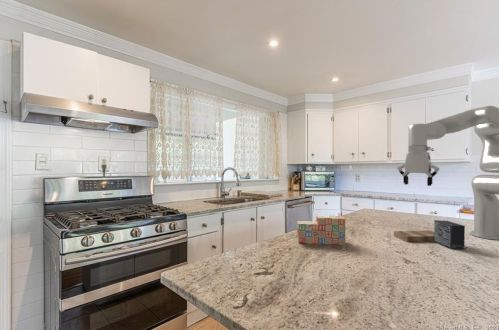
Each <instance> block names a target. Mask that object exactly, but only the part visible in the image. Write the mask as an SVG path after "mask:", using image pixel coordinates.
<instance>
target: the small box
mask: <svg viewBox="0 0 499 330" xmlns="http://www.w3.org/2000/svg"><path fill="white" fill-rule="evenodd" d="M433 222H434V223H433V224H434V227H433V228H434V231H433V232H434V243H436V244H438V245H440V246H443V247H445V248H448V249H450V250H465V246H466V245H465V242H466V241H465V234H466V233H465V230H466V229H465V228H466V227H465V226H466V225H464V224H460V223H456V222H453V221H451V220H450V221H449V220H440V219H439V220H436V219H435V220H434V221H433Z"/></svg>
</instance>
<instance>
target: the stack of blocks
mask: <svg viewBox="0 0 499 330" xmlns="http://www.w3.org/2000/svg"><path fill="white" fill-rule="evenodd" d="M296 223H297V224H296V239H297V243H298V244H306V243H308V244H309V245H310V244H313V245H341V246H343V245H346V218H345V217H344V216H343V215H334V214H333V215H331V214H329V215H320V214H319V215H317V214H316V215H315V221H313V220H312V221H310V220H308V221H306V220H305V221H303V220H302V221H301V220H297V221H296Z"/></svg>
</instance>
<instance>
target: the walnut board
mask: <svg viewBox="0 0 499 330" xmlns="http://www.w3.org/2000/svg"><path fill="white" fill-rule="evenodd" d="M393 237H395V238H397V239H399V240H402V241H403V242H406V243H423V242H424V243H425V242H426V243H427V242H434V231H433V230H395V231H393ZM434 243H435V242H434Z"/></svg>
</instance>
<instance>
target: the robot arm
mask: <svg viewBox="0 0 499 330" xmlns="http://www.w3.org/2000/svg"><path fill="white" fill-rule="evenodd" d="M472 127H473V131H474V133H475V135H477V136H478V137H479V139H480V141H481V142H482V151H481V155H480V160H479V169H480V170H481V171H482V172H484V173H490V174H478V175H476V176H474V177H473V178H472V179H471V189H472V192H473V230H472V231H470V232H469V234H470V235H471V236H472V237H476V238H481V239H487V240H495V241H496V240H497V241H498V240H499V198H498V197H497V195H499V107H497V106H494V105H486V106H481V107H476V108H472V109H468V110H465V111H462V112H459V113H457V114H453V115H450V116H447V117H444V118H440V119H437V120H435V121H431V122H426V123H414V124H413V123H412V124H410V125H409V126H408V139H407V140H408V145H407V147H408V151H407V153H406V156H405V160H404V161H405V162H404V164H402V165H401V166H398V167H397V171H398V172H399V174H400V175H402V177H403V179H402V180H403V182H402V183H404V184H403V185H409V176H408V175H409V174H426V176H427V178H426V179H427V180H426V181H427V182H426V185H427V187H428V186H429V187H430V186H432V185H433V178H434V177H435V176H436V175H437V174H438V172H439V171H440V169H441V168H440V167H438V166H436V165H433V164H432V160H431V159H432V158H431V153H430V151H429V150H431V149H432V147H431V146H428V141H430V140H431V141H433V140H438V139H441V138H443V137H445V135H448V134H454V133H458V132H462V131H465V130H467V129H470V128H472ZM428 151H429V152H428ZM403 169H404V170H405V171H404V170H403ZM432 169H434V170H433V172H432ZM491 173H492V174H491Z"/></svg>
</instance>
